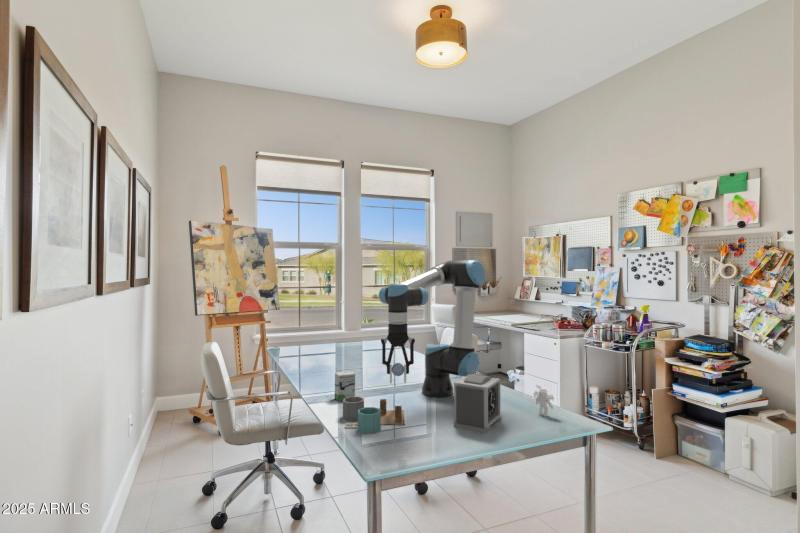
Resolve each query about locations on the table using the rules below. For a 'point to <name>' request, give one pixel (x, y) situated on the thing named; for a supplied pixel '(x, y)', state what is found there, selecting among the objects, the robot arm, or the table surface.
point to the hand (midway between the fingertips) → (398, 382)
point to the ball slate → (397, 369)
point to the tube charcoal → (352, 407)
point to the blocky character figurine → (543, 400)
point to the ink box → (344, 385)
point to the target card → (351, 425)
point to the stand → (391, 415)
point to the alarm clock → (476, 403)
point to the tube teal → (369, 420)
